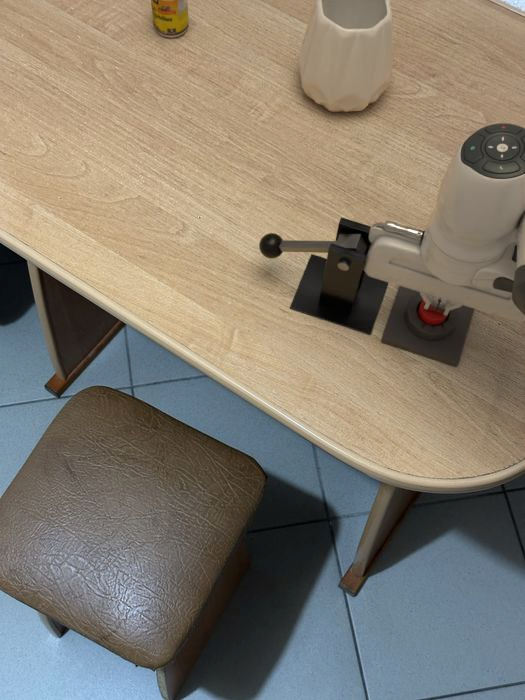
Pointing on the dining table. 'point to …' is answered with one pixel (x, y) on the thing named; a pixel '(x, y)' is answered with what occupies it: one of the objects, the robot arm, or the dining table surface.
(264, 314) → the dining table surface
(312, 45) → the vase
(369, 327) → the switch bracket
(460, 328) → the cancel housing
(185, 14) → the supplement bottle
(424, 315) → the button
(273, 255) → the switch lever
